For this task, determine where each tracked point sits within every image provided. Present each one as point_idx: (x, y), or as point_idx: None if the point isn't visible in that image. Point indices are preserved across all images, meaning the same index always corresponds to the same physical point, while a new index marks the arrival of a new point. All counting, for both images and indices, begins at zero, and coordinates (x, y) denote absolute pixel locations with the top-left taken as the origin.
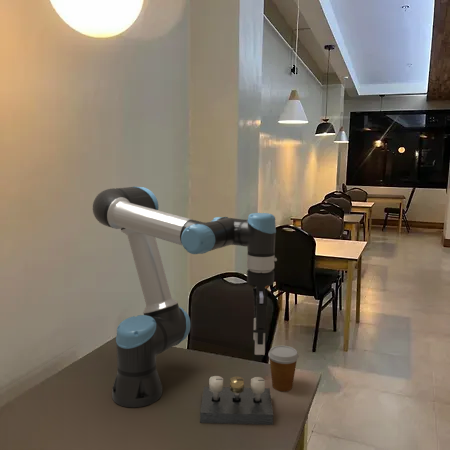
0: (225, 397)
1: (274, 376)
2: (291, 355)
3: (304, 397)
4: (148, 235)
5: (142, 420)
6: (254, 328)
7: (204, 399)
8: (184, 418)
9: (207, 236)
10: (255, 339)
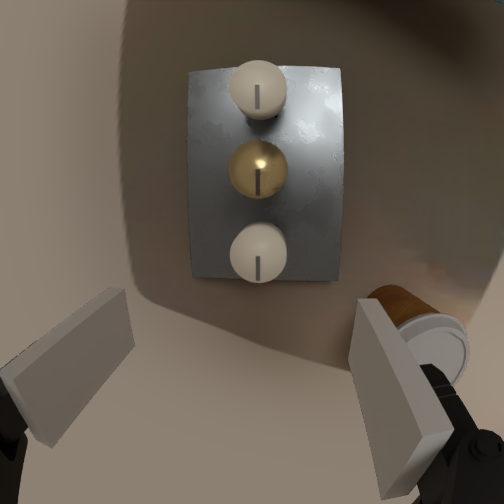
0: (277, 134)
1: (383, 305)
2: None
3: (329, 357)
4: None
5: None
6: (385, 360)
7: None
8: (216, 43)
9: None
10: (42, 339)
